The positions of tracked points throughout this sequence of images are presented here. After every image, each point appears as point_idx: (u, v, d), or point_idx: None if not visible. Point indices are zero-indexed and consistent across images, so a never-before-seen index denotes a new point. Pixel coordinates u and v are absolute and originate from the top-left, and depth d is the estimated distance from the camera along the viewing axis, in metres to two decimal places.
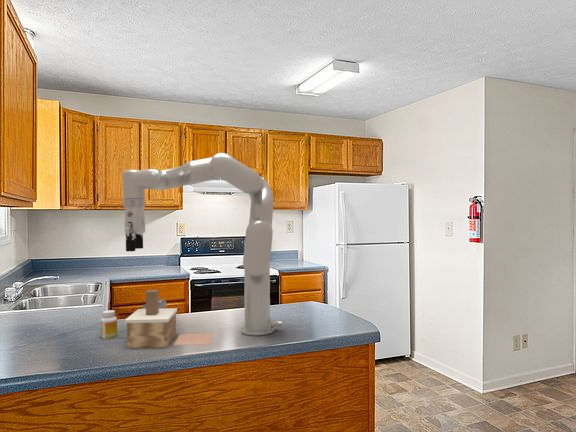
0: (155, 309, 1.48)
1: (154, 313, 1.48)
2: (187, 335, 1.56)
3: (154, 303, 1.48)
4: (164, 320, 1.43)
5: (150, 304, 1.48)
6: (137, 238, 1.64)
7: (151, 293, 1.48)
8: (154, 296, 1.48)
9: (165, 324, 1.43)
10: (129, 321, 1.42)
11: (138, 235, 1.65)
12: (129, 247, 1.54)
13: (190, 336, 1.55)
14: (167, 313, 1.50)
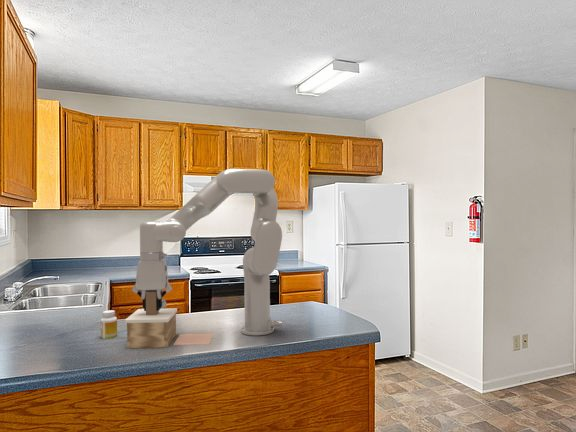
0: (155, 309, 1.48)
1: (154, 313, 1.48)
2: (187, 335, 1.56)
3: (154, 303, 1.48)
4: (164, 320, 1.43)
5: (150, 304, 1.48)
6: None
7: (151, 293, 1.48)
8: (154, 296, 1.48)
9: (165, 324, 1.43)
10: (129, 321, 1.42)
11: (145, 295, 1.50)
12: (161, 305, 1.50)
13: (190, 336, 1.55)
14: (167, 313, 1.50)
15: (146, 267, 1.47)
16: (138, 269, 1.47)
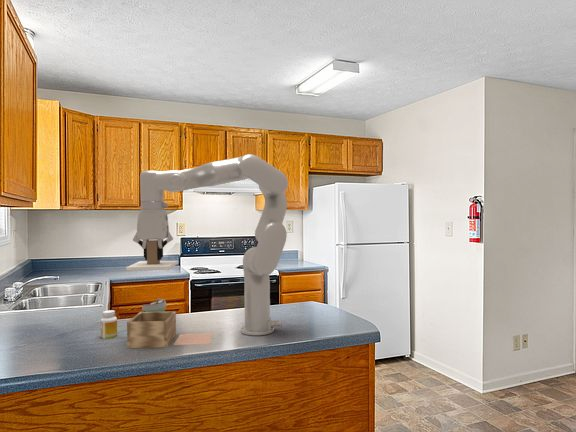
0: (156, 258, 1.48)
1: (155, 262, 1.48)
2: (187, 335, 1.56)
3: (155, 252, 1.48)
4: (165, 267, 1.42)
5: (151, 253, 1.48)
6: None
7: (152, 242, 1.48)
8: (155, 245, 1.48)
9: (165, 324, 1.43)
10: (130, 268, 1.42)
11: (146, 245, 1.49)
12: (162, 255, 1.49)
13: (190, 336, 1.55)
14: (168, 263, 1.50)
15: (147, 216, 1.47)
16: (139, 218, 1.47)
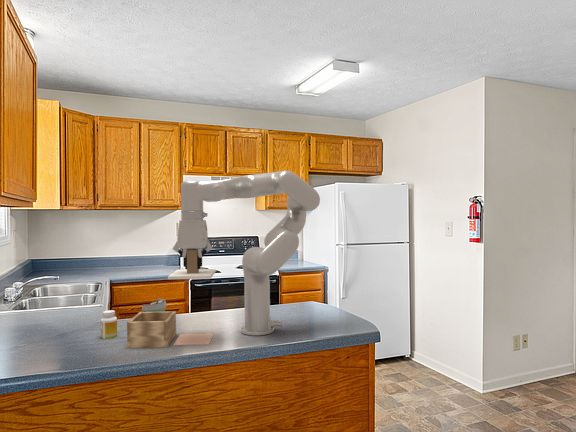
0: (196, 267, 1.50)
1: (195, 271, 1.49)
2: (187, 335, 1.56)
3: (195, 261, 1.49)
4: (206, 277, 1.44)
5: (191, 262, 1.49)
6: None
7: (192, 251, 1.49)
8: (195, 254, 1.49)
9: (165, 324, 1.43)
10: (172, 277, 1.43)
11: (186, 254, 1.51)
12: (201, 264, 1.51)
13: (190, 336, 1.55)
14: (207, 272, 1.52)
15: (187, 225, 1.48)
16: (179, 227, 1.48)
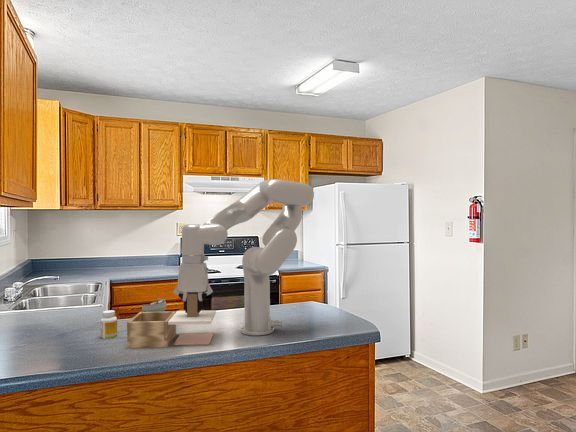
0: (196, 311, 1.50)
1: (195, 315, 1.50)
2: (187, 335, 1.56)
3: (195, 305, 1.50)
4: (206, 322, 1.44)
5: (191, 306, 1.50)
6: None
7: (192, 295, 1.50)
8: (195, 298, 1.50)
9: (165, 324, 1.43)
10: (172, 323, 1.44)
11: None
12: (201, 307, 1.51)
13: (190, 336, 1.55)
14: (207, 315, 1.52)
15: (188, 269, 1.49)
16: (180, 271, 1.49)
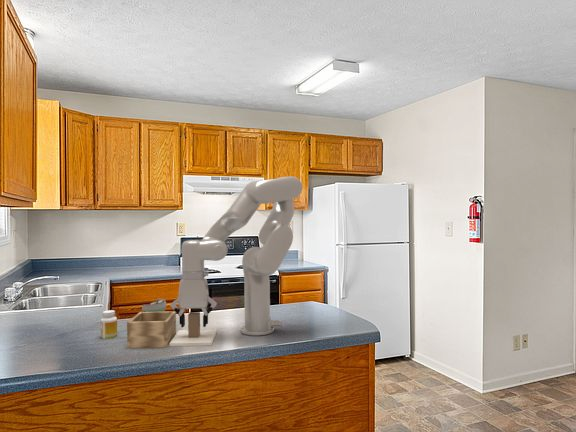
0: (197, 332, 1.50)
1: (196, 336, 1.50)
2: None
3: (196, 326, 1.50)
4: (208, 343, 1.45)
5: (192, 326, 1.50)
6: (183, 315, 1.51)
7: (193, 316, 1.50)
8: (196, 319, 1.50)
9: (165, 324, 1.43)
10: (173, 344, 1.44)
11: None
12: (207, 321, 1.52)
13: None
14: (209, 335, 1.52)
15: (188, 286, 1.49)
16: (180, 288, 1.49)
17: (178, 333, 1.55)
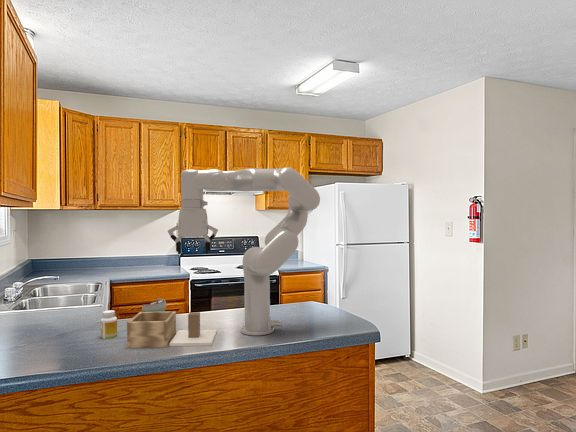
0: (197, 332, 1.50)
1: (196, 336, 1.50)
2: None
3: (196, 326, 1.50)
4: (208, 343, 1.45)
5: (192, 326, 1.50)
6: (180, 242, 1.52)
7: (193, 316, 1.50)
8: (196, 319, 1.50)
9: (165, 324, 1.43)
10: (173, 344, 1.44)
11: None
12: None
13: None
14: (209, 335, 1.52)
15: (188, 214, 1.50)
16: (180, 216, 1.50)
17: (178, 333, 1.55)
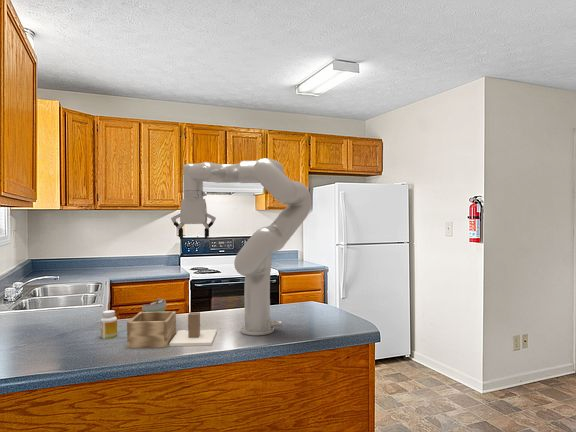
0: (197, 332, 1.50)
1: (196, 336, 1.50)
2: None
3: (196, 326, 1.50)
4: (208, 343, 1.45)
5: (192, 326, 1.50)
6: (181, 229, 1.70)
7: (193, 316, 1.50)
8: (196, 319, 1.50)
9: (165, 324, 1.43)
10: (173, 344, 1.44)
11: None
12: (208, 235, 1.71)
13: None
14: (209, 335, 1.52)
15: (189, 203, 1.68)
16: (182, 205, 1.68)
17: (178, 333, 1.55)
